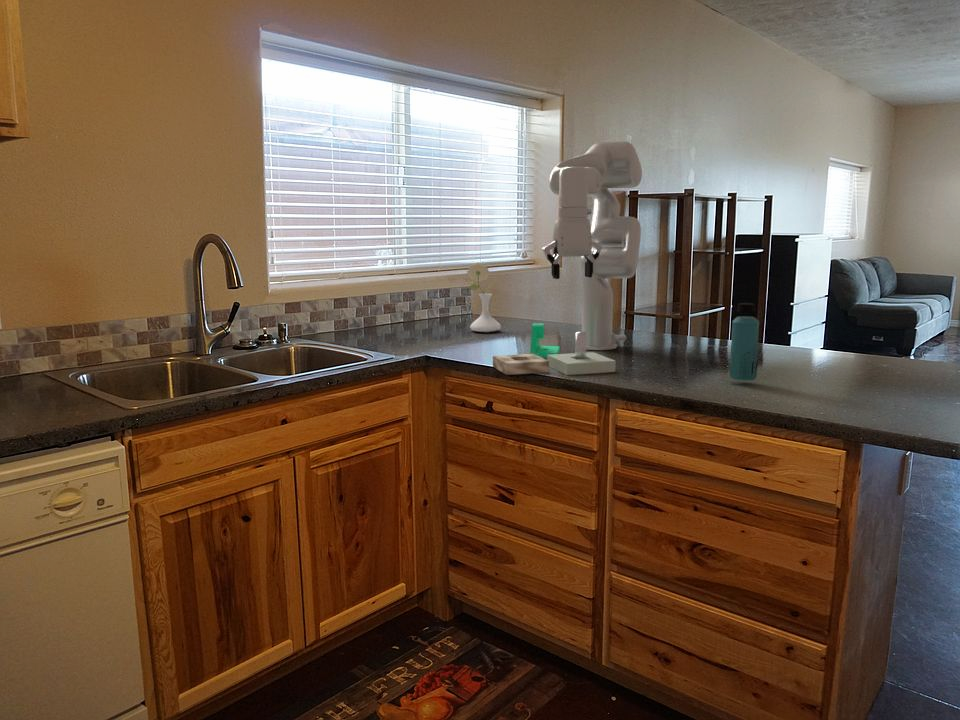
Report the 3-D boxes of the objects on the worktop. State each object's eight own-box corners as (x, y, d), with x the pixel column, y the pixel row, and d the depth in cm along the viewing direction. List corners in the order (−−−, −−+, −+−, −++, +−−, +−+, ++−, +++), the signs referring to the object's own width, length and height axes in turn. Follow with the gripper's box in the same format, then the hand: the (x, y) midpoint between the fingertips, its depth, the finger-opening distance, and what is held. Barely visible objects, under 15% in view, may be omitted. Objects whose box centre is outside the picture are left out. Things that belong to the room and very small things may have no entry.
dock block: (592, 362, 213) (593, 352, 212) (615, 371, 200) (615, 360, 199) (547, 365, 209) (547, 354, 209) (566, 375, 196) (567, 363, 195)
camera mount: (556, 362, 215) (557, 326, 213) (530, 361, 216) (530, 326, 215) (559, 354, 227) (560, 321, 225) (534, 354, 228) (535, 320, 226)
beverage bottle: (753, 387, 180) (758, 305, 176) (725, 384, 184) (729, 303, 180) (759, 382, 186) (764, 302, 182) (731, 379, 189) (736, 301, 185)
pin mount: (533, 364, 211) (533, 353, 211) (549, 372, 200) (549, 361, 199) (492, 366, 208) (492, 355, 207) (506, 374, 196) (506, 363, 196)
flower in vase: (505, 330, 276) (506, 262, 272) (493, 334, 266) (493, 264, 261) (473, 328, 282) (473, 261, 277) (460, 332, 271) (460, 263, 267)
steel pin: (583, 367, 206) (583, 331, 204) (587, 369, 203) (588, 332, 202) (573, 367, 205) (573, 331, 204) (577, 369, 203) (578, 333, 201)
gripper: (595, 213, 207) (594, 275, 210) (537, 214, 202) (537, 278, 205) (608, 213, 200) (607, 277, 203) (548, 214, 195) (548, 280, 198)
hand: (572, 277), depth 204 cm, fingers open, 9 cm apart
